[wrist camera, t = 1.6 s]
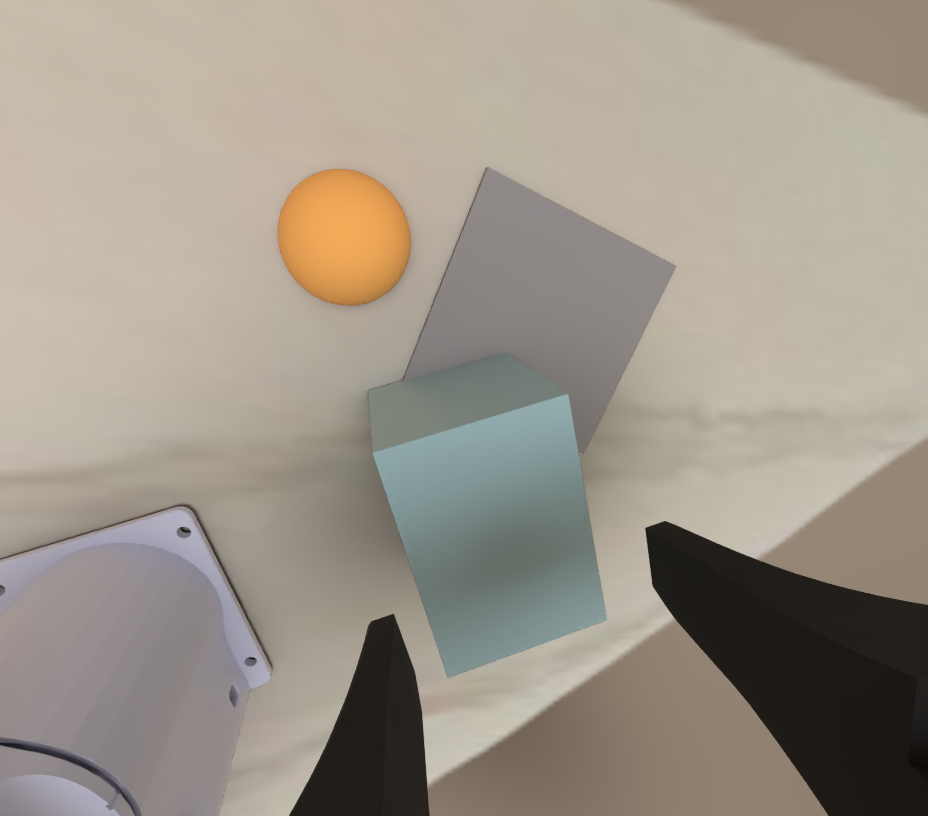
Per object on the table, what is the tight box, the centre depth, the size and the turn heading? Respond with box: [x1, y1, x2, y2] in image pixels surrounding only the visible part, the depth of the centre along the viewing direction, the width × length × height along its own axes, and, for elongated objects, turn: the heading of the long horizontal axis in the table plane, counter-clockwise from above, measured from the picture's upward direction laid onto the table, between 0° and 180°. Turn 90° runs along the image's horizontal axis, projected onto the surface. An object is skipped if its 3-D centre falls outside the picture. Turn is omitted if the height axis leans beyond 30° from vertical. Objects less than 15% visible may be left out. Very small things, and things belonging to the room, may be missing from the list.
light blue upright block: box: [368, 352, 607, 678], centre depth 19 cm, size 9×6×7 cm
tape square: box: [402, 167, 676, 453], centre depth 20 cm, size 9×9×1 cm
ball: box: [278, 169, 411, 306], centre depth 16 cm, size 4×4×4 cm
